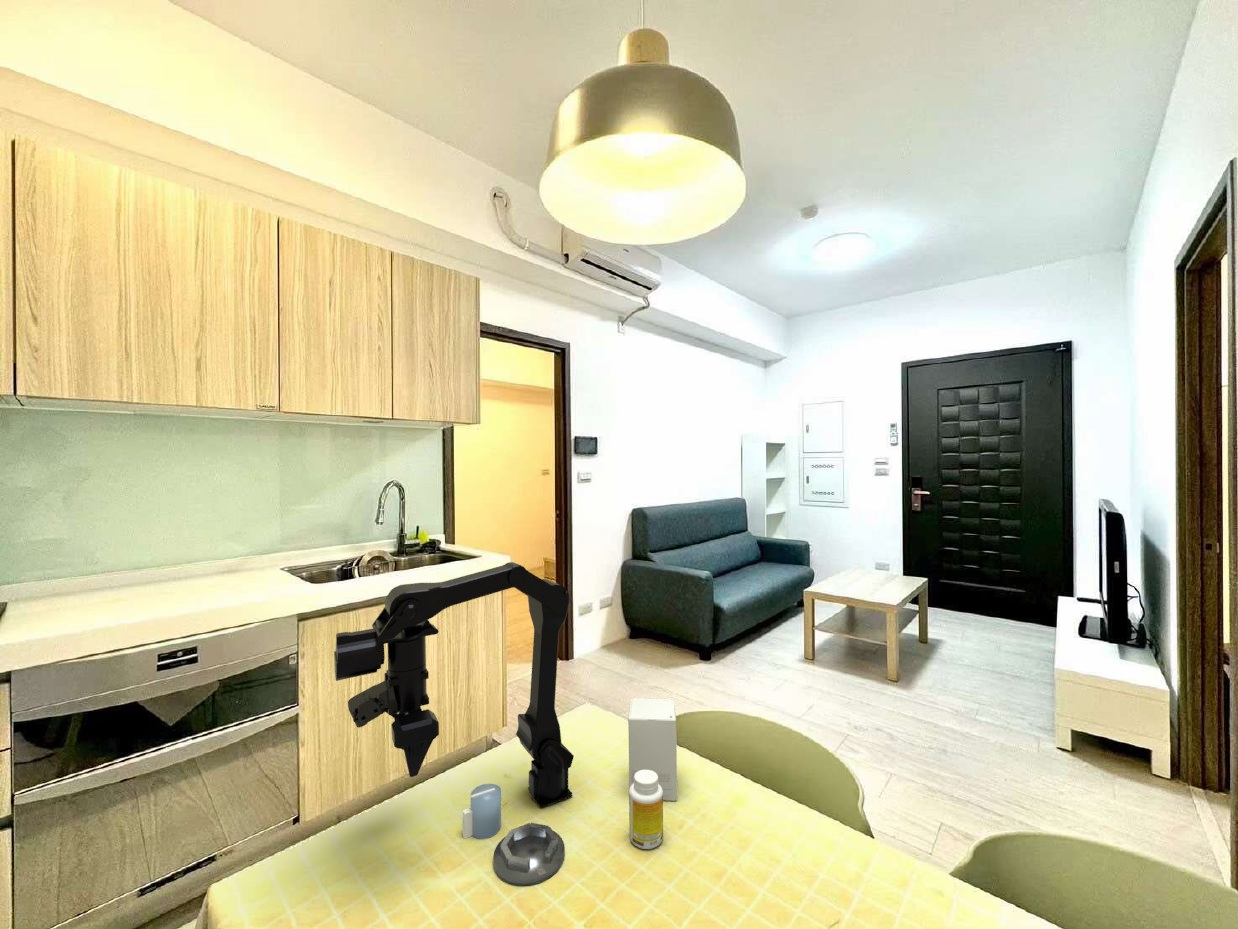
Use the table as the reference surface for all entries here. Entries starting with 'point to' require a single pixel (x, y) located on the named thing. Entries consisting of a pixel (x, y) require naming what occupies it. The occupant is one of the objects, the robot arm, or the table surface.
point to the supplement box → (654, 742)
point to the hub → (528, 855)
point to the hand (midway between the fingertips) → (408, 761)
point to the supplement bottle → (646, 810)
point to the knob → (483, 812)
